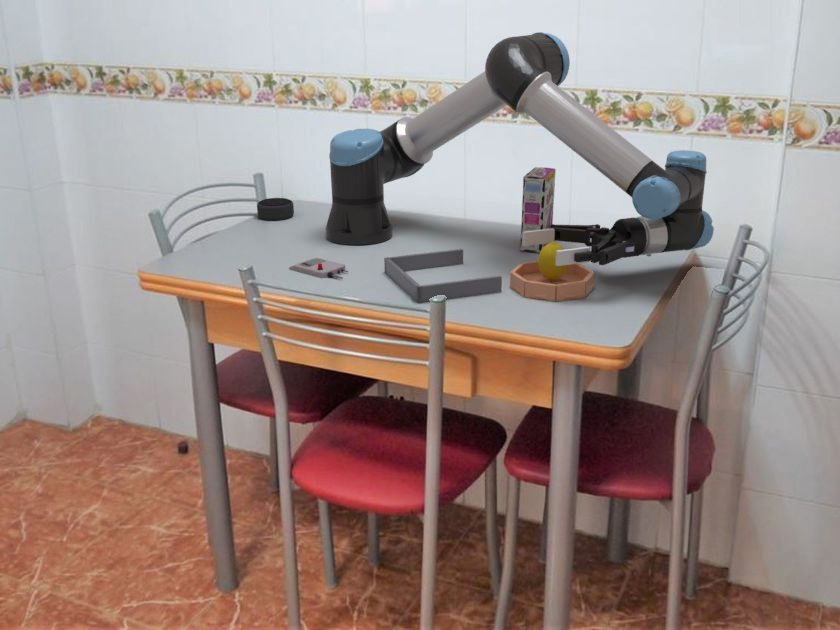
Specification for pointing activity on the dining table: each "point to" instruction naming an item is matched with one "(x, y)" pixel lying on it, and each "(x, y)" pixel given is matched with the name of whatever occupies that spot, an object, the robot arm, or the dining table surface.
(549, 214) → the candy bar box
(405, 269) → the grey u-shaped fence
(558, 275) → the lemon
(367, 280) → the dining table surface
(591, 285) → the bowl
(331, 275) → the moisture meter
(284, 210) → the smart speaker
